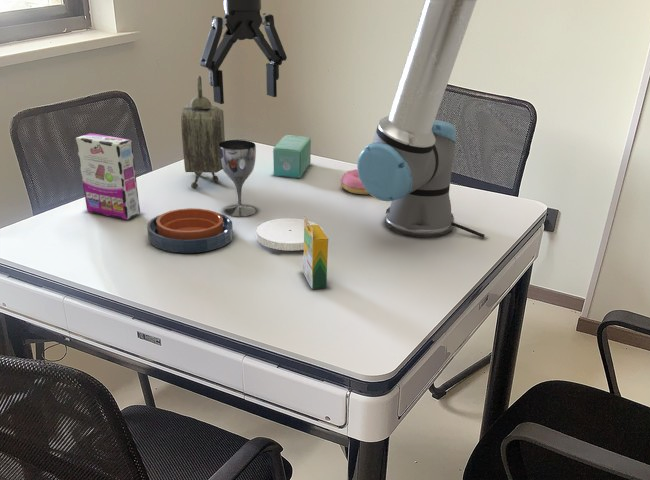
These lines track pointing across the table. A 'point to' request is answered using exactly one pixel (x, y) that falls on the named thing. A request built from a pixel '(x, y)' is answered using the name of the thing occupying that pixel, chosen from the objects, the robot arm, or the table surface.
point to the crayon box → (315, 255)
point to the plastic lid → (282, 234)
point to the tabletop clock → (202, 136)
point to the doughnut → (353, 182)
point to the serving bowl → (190, 244)
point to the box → (292, 156)
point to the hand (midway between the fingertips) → (246, 99)
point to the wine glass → (238, 169)
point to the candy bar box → (108, 175)
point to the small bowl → (189, 224)
